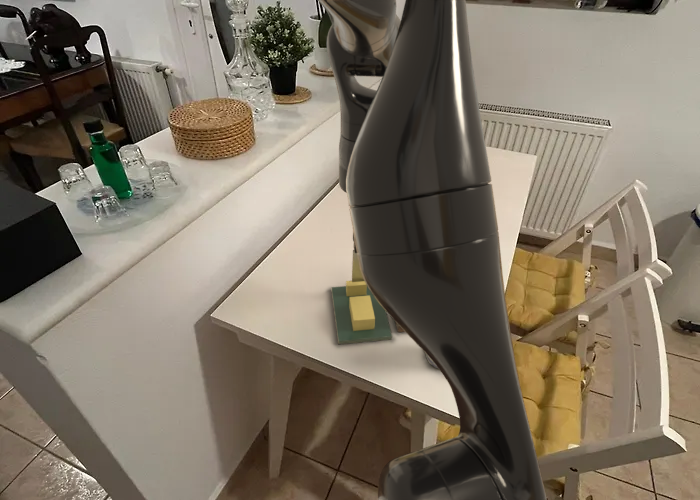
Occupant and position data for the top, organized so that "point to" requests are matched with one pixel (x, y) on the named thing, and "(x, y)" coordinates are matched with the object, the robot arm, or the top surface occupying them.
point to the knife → (356, 268)
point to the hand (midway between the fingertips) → (359, 245)
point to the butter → (361, 313)
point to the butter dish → (345, 322)
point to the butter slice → (356, 288)
